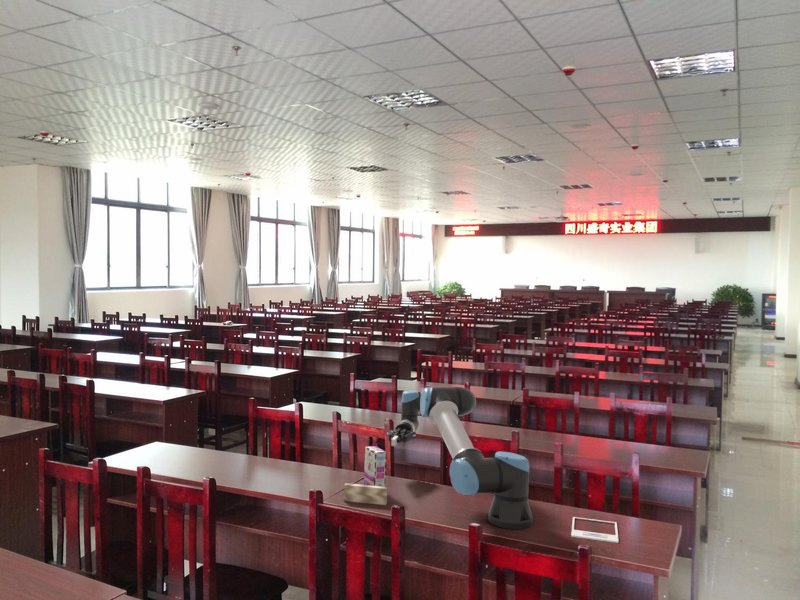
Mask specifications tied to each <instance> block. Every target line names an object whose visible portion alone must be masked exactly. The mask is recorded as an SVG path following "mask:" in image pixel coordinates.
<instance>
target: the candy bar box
mask: <svg viewBox="0 0 800 600" xmlns="http://www.w3.org/2000/svg"><path fill="white" fill-rule="evenodd" d="M364 447H365V448H364V469H363V470H364V471H363V476H364V477H363V485H370V486H381V487H386V479H387V451H385V450H383V449H381V448H380V447H378V446H377V445H370V446H364Z"/></svg>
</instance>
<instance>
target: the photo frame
mask: <svg viewBox="0 0 800 600" xmlns="http://www.w3.org/2000/svg"><path fill="white" fill-rule="evenodd" d="M575 519H576V520H585V521H593V522H599V523H600V522H601V523H607V524H614V531H615V534H609V533H600V532H595V531H594V532H593V531H586V530H579V529H575ZM618 531H619V530H618V524H617V521H608V520H599V519H593V518H585V517H577V516H572V524H571V533H570V537H571V538H577V539H585V540H586V539H587V540H591V541H592V540H593V541H601V542H607V543H608V542H609V543H614V544H615V543H616V544H619V532H618Z"/></svg>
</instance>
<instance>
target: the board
mask: <svg viewBox="0 0 800 600" xmlns="http://www.w3.org/2000/svg"><path fill="white" fill-rule="evenodd" d="M343 502H351V503H362V504H370V505H381V506H387V504H388V486H385V487H381V486H370V485H364V484H358V483H348V482H346V483H344V484H343Z"/></svg>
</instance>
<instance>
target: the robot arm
mask: <svg viewBox="0 0 800 600" xmlns="http://www.w3.org/2000/svg"><path fill="white" fill-rule="evenodd" d="M400 401H401V415H400V423H398V424H397V426H396V427H395V428H394V429H393V430H392V429H387V430H386V436H387V438H388V442H390V443H391V444H390V445H391V447H396V446H397V445H398V444H401V442H403V443H407V442H408V441H411V440H414V439H416V436H417V432H416V431H418V428H419V426H420V422H419V418H418V417H419V413H420V415H421V417H423V418H428V419H429V420H430V422H431V423H432V424H433V425H435V426H437V428H438V430H439V432H440V435H441V437H442V440H443V441H444V443H445V445H446V448H447V449H448V452H449V454H450V456H451V458H452V460H451V462H450V466H449V477H450V483H451V485H452V487H453V489H454V491H456V493H458V494H460V495H467V496H473V495H474V496H475V495H485V494H493V499H492V502H491V505H490V508H489V510H488V514H487V520H488V522H489V523H490V524H491V525H493V526H496V527H498V528H502V529H508V530H523V529H528V528H530V527H532V525H533V519H534V518H533V513H532V511H531V510H532V509H531V507H530V504H529V481H530V480H529V479H530V472H531V471H530V462H529V459H528V458H526V457H525V456H524V455H520V454H518V453H513V452H510V451H509V452H508V451H496V452H494V453H495V454H494V457H484V455H483V453H482V451H481V450H479V449H478V448H475V447H474V444H473V443H472V441H471V439H470V437H469V435H468V433H467V432H466V430H465V427H464V426H463V424H462V421H461V420H460V418H459V417H461V416H462V417H463V416H465V415H468V414H470V413H472V412H473V411H474V409H475V408H476V405H477V398H476V396H475V393H474V392H473V391H472V390H470V389H469V388H466V387H462V386H430V387H424V388H423V390H422V391H421V393H420V394H419V392H418V391H417V390H410V389H408V390H403V392H402V395H401V400H400Z"/></svg>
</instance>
